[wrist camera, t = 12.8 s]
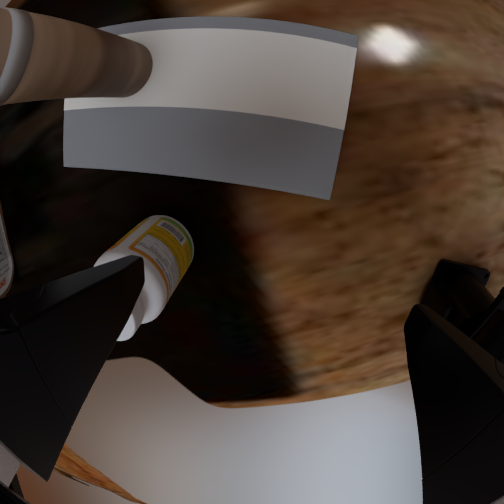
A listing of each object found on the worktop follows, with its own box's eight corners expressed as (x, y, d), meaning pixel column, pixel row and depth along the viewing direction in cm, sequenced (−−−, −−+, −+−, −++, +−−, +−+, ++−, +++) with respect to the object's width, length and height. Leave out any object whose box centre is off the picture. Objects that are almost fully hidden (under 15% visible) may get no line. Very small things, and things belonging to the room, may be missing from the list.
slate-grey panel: (356, 38, 15) (358, 35, 14) (328, 198, 20) (329, 200, 20) (78, 35, 16) (73, 34, 15) (67, 165, 21) (63, 167, 21)
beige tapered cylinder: (149, 32, 16) (13, -14, 4) (157, 87, 18) (9, 80, 6) (98, 54, 16) (-40, 44, 5) (105, 106, 18) (-40, 127, 7)
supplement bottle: (142, 271, 25) (84, 342, 17) (131, 213, 23) (57, 270, 14) (198, 275, 25) (155, 357, 16) (192, 213, 22) (134, 279, 14)
